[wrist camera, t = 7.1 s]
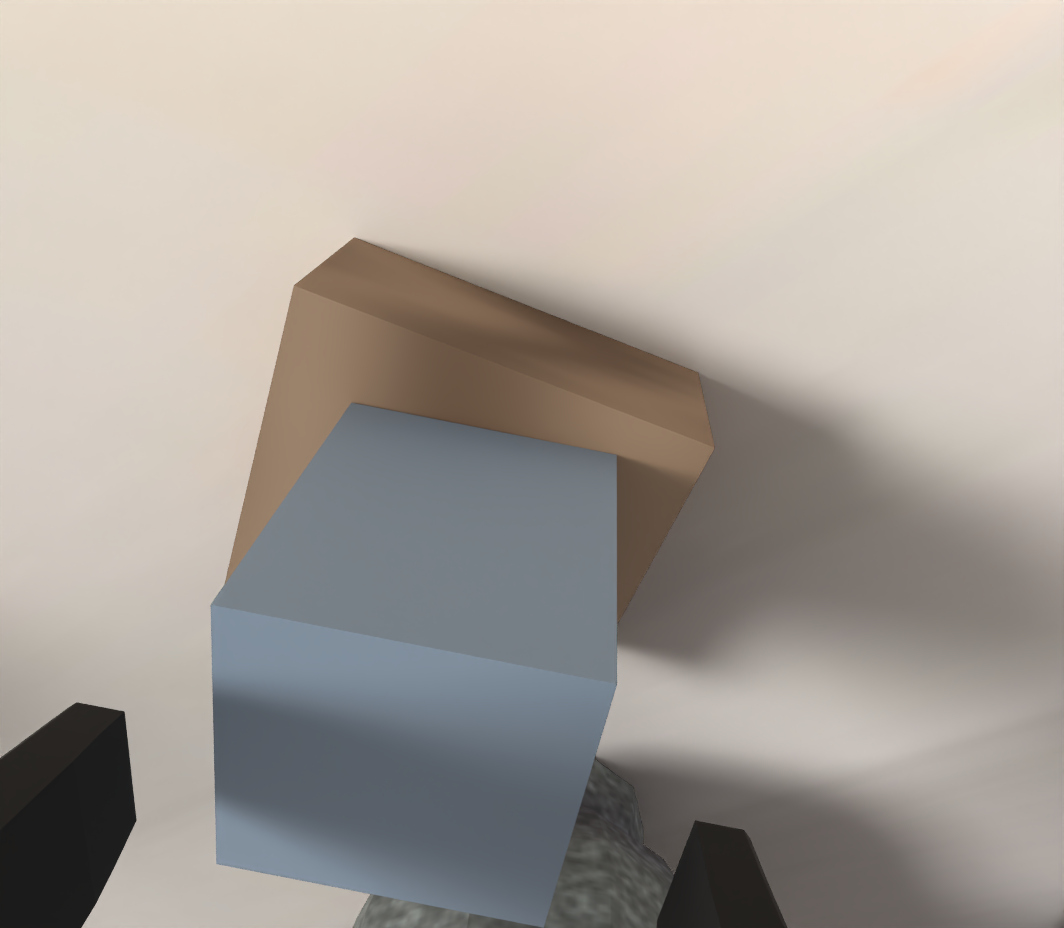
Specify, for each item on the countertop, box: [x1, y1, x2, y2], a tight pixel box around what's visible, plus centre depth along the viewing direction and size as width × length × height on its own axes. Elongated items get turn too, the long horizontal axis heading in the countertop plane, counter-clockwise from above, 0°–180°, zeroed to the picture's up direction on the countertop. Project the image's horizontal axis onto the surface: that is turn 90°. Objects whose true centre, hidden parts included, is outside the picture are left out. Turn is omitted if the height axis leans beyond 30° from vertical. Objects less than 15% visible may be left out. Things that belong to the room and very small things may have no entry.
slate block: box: [211, 403, 617, 928], centre depth 14 cm, size 5×5×6 cm
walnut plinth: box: [225, 238, 715, 624], centre depth 18 cm, size 8×8×4 cm
